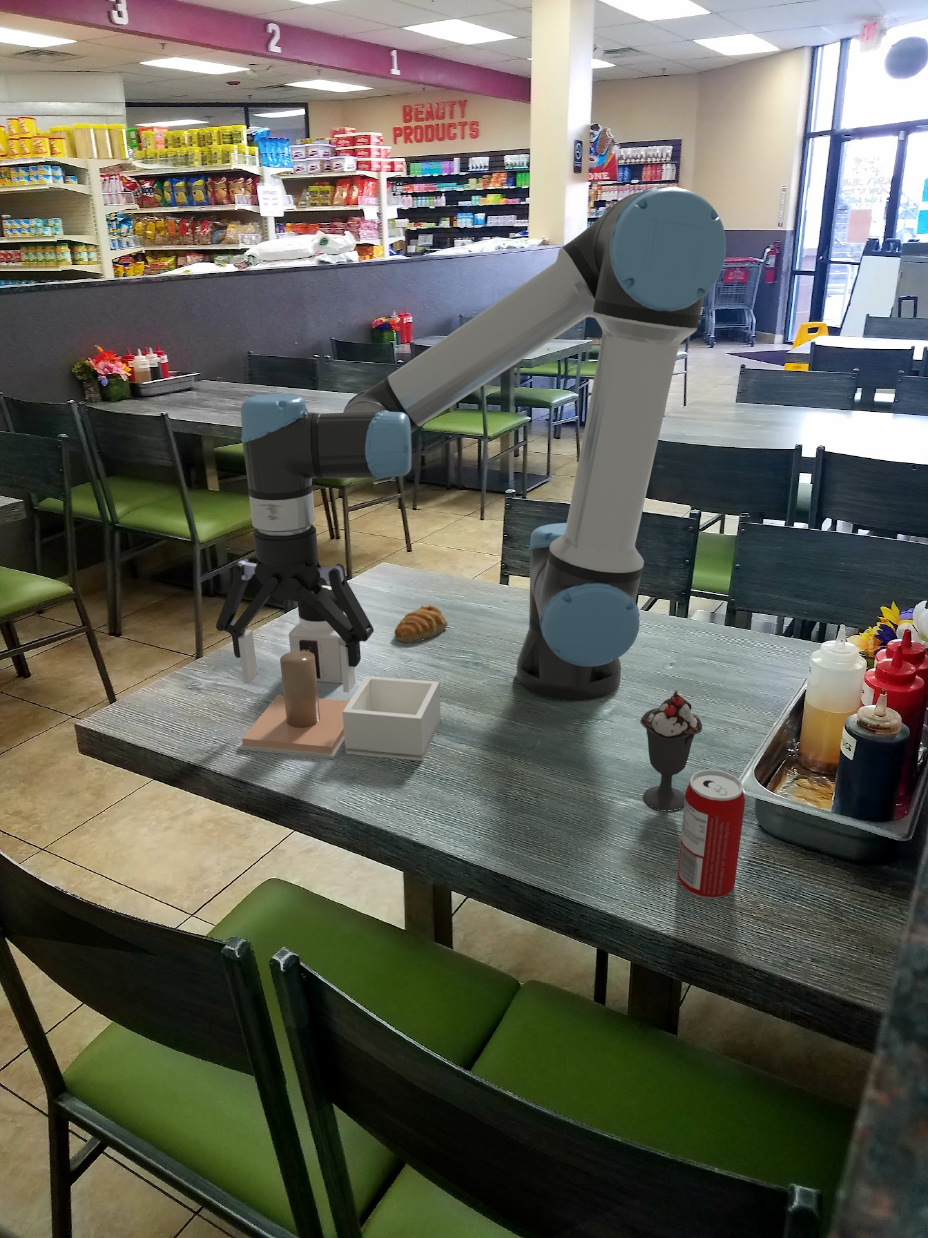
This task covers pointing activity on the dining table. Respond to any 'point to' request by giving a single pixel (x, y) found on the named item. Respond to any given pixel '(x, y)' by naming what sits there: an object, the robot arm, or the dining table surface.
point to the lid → (299, 712)
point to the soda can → (711, 833)
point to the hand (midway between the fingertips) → (299, 683)
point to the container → (318, 640)
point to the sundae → (669, 748)
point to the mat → (294, 752)
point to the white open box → (392, 718)
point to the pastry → (420, 624)
